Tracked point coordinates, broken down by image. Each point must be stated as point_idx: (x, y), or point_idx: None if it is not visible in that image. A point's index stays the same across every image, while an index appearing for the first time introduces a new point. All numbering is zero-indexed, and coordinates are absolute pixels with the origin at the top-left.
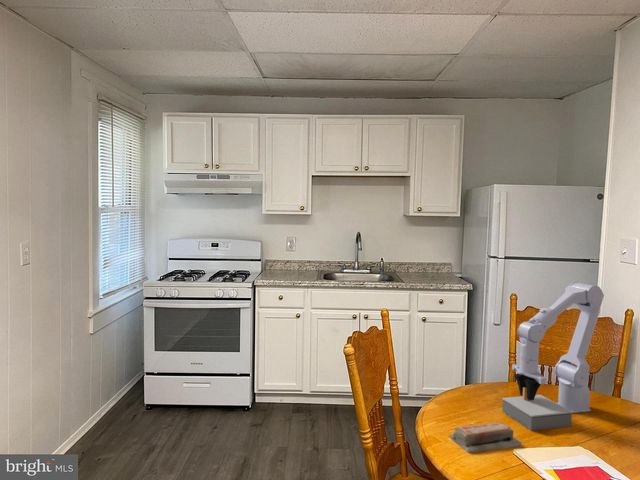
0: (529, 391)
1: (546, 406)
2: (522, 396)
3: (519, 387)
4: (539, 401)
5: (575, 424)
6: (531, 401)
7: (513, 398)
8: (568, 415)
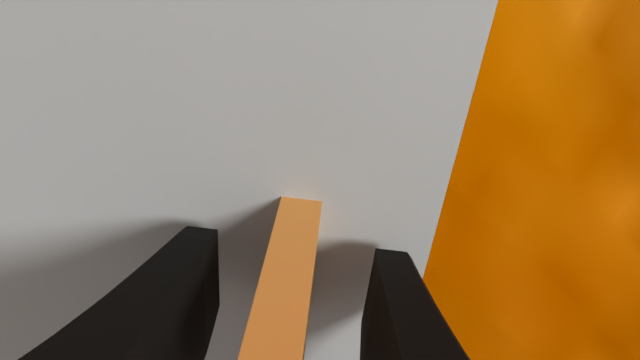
0: (47, 342)
1: (17, 298)
2: None
3: (432, 355)
4: None
5: None
6: None
7: (404, 74)
8: None
